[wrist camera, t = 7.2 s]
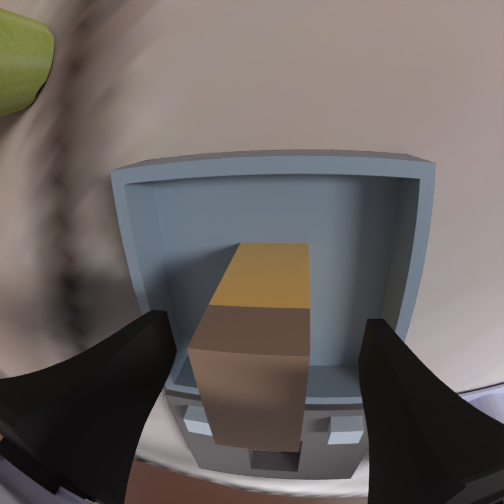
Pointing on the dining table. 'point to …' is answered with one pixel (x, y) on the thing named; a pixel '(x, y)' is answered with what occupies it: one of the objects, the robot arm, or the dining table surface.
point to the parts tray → (281, 231)
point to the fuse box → (275, 463)
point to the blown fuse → (256, 348)
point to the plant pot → (22, 60)
